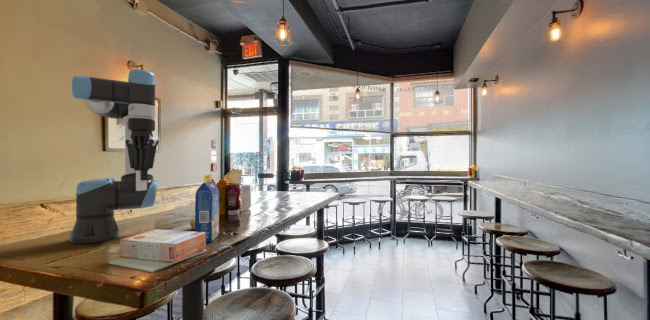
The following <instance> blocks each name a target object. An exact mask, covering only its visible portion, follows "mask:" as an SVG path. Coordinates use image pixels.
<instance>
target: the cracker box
mask: <svg viewBox="0 0 650 320" xmlns="http://www.w3.org/2000/svg"><path fill="white" fill-rule="evenodd" d="M204 249H206V250H207V242H206V232H195V231H193V230H192V231H190V230H189V231H188V230H175V229H174V230H173V229H161V228H160V229H159V228H155V229H151V230H147V231H144V232H141V233H138V234H134V235H131V236H126V237H124V238H121V239H119V258H122V257H125V258H135V259H144V260H154V261H164V262H174V263H175V264H177V263H179V262H178V261H180V260H182V259H184V258H187V257H189V256H191V255H193V254H195V253H197V252H200V251H202V250H204ZM176 262H177V263H176ZM180 262H181V261H180Z"/></svg>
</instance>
